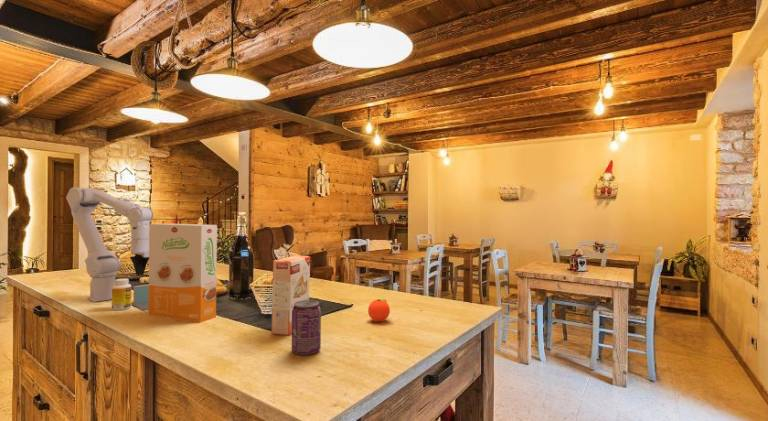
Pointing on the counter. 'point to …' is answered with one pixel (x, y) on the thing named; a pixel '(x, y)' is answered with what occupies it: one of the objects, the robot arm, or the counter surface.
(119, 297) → the supplement bottle
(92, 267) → the robot arm
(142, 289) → the tile
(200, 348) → the counter surface
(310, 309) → the beverage can
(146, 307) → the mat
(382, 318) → the clementine
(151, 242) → the cereal box
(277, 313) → the cracker box
